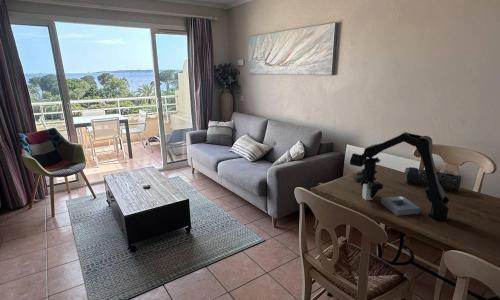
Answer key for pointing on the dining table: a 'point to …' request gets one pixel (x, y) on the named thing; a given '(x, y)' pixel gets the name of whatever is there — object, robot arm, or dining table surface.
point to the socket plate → (405, 209)
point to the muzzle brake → (444, 179)
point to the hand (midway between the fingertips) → (367, 194)
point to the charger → (366, 192)
